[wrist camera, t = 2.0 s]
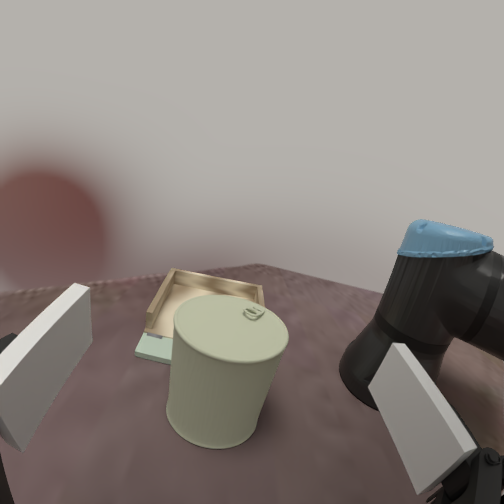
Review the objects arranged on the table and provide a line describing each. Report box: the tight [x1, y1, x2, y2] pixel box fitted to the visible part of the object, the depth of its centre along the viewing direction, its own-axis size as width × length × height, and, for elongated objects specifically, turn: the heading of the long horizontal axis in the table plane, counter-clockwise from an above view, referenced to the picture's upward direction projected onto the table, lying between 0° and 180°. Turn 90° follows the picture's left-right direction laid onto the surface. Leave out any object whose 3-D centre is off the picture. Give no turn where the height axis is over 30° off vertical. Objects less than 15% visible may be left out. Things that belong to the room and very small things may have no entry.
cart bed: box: [144, 268, 265, 339], centre depth 42 cm, size 16×16×4 cm
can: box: [166, 295, 289, 449], centre depth 24 cm, size 9×9×12 cm
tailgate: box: [135, 332, 173, 365], centre depth 33 cm, size 16×4×1 cm, turn 92°
